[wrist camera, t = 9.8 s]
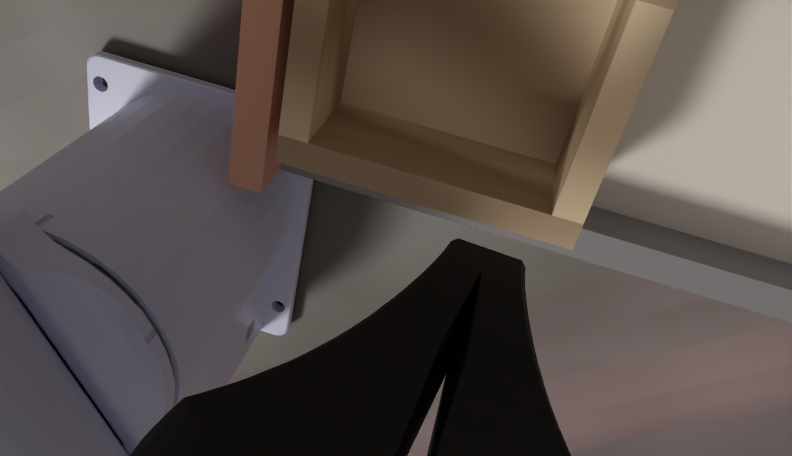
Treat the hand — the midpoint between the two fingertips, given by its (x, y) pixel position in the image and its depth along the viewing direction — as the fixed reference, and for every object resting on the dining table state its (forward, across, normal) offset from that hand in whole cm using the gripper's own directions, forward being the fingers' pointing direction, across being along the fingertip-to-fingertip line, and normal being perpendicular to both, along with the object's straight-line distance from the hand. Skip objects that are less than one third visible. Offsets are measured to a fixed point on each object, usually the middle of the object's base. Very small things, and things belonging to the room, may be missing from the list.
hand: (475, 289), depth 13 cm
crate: (+8, +2, -2) cm, 9 cm away
